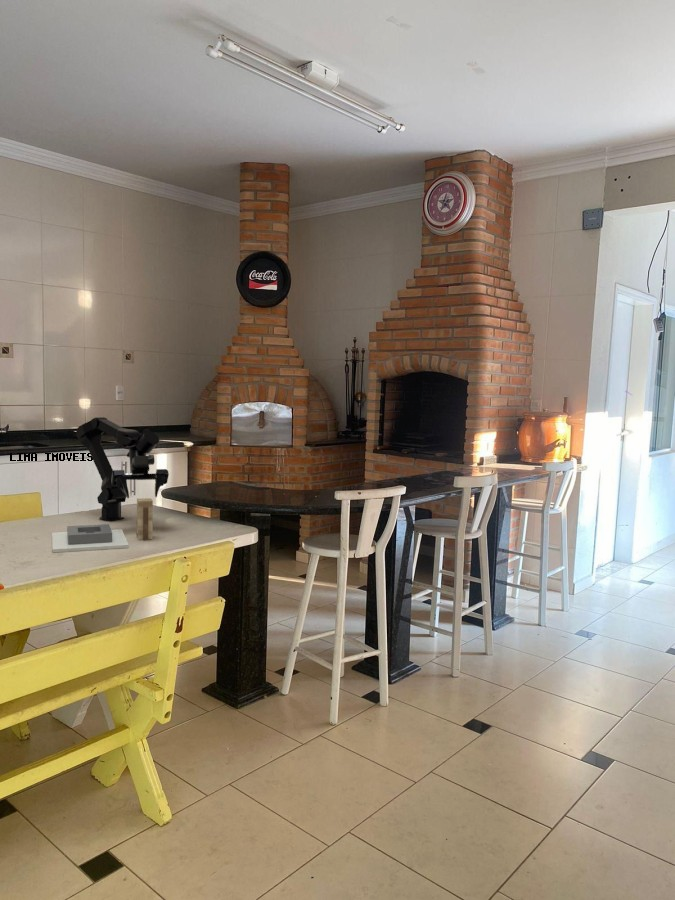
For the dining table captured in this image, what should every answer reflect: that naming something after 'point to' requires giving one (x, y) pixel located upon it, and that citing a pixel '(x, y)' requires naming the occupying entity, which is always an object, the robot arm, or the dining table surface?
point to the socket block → (88, 538)
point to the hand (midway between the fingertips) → (142, 497)
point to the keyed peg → (144, 518)
